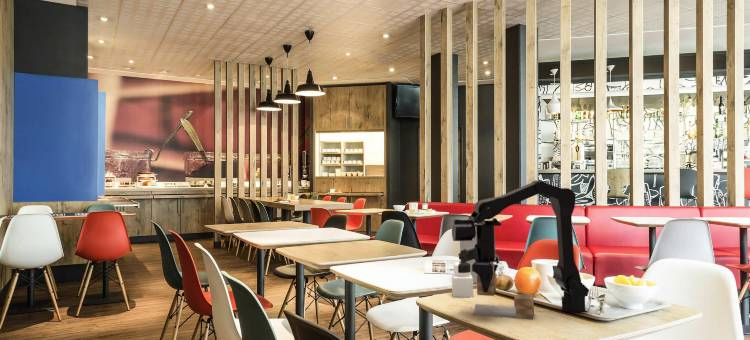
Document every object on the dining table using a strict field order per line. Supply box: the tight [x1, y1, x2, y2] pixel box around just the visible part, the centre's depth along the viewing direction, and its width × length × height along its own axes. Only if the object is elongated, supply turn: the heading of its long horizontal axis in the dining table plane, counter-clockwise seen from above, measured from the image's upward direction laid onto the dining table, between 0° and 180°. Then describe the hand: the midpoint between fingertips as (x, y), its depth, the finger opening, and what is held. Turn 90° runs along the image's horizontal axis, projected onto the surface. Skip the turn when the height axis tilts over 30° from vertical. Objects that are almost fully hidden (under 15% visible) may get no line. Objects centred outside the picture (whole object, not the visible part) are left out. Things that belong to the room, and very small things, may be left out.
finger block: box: [476, 272, 498, 297], centre depth 160 cm, size 5×6×6 cm
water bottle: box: [459, 223, 478, 285], centre depth 209 cm, size 9×8×25 cm
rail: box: [472, 303, 535, 321], centre depth 159 cm, size 18×6×3 cm, turn 70°
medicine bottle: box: [451, 261, 474, 298], centre depth 188 cm, size 7×7×12 cm
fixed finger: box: [513, 293, 535, 321], centre depth 157 cm, size 5×6×6 cm
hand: (486, 289), depth 160 cm, fingers closed on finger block, 6 cm apart
